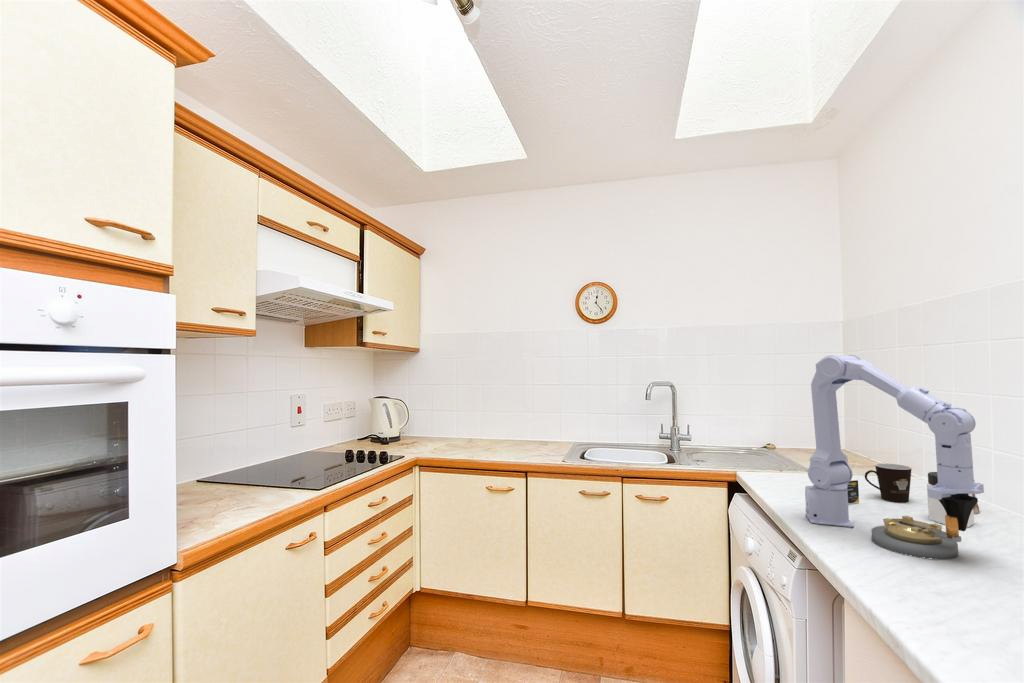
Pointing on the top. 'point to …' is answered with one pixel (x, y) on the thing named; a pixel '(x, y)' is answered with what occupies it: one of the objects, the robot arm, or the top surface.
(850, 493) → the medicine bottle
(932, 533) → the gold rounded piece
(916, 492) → the top surface
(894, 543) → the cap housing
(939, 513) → the jar
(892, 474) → the coffee mug
